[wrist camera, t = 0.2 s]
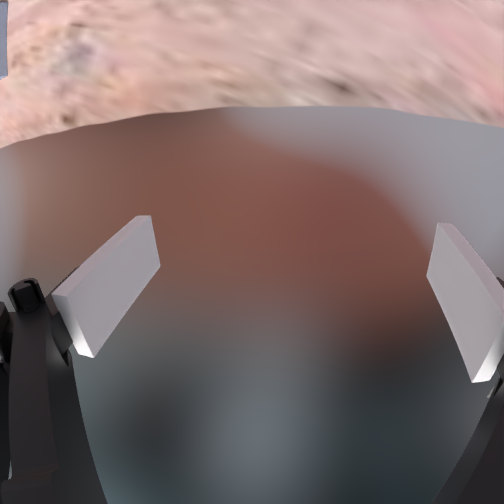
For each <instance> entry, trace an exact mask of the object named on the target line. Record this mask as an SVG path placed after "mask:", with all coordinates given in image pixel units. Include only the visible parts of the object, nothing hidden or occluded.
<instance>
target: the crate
mask: <svg viewBox="0 0 504 504" xmlns="http://www.w3.org/2000/svg"><path fill="white" fill-rule="evenodd" d="M7 11H8V3H5V2H0V80H1V79H2V78H4V77H6V76H8V74H7Z"/></svg>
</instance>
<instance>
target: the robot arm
mask: <svg viewBox="0 0 504 504" xmlns="http://www.w3.org/2000/svg"><path fill="white" fill-rule="evenodd" d="M159 268H160V261H159V256H158V252H157V247H156V242H155V236H154V231H153V226H152V221H151V216H136V217H135V218H134V219H133V220H131V221H130V222H129V223H128V224H127V225H126V226H124V227H123V228H122V229H121V230H120V231H118V232H117V233H116V234H115V235H114V236H113V237H112V238H110V239H109V240H108V241H107V242H106V243H105V244H104V245H103V246H102V247H100V248H99V249H98V250H97V251H96V252H95V253H94V254H93V255H91V256H90V258H88V259H87V260H86V261H85V262H84V263H83V264H82V265H81V266H79V267H77V268H76V269H74V270H73V271H72V272H71V273H70V274H69V275H68V277H66V278H65V279H64V280H63V281H62V282H61V283H60V284H59V285H58V286H57V287H56V288H55V289H54V290H53V291H51V293H50V294H48V296H46V298H44V296H43V294H42V291H41V289H40V286H39V283H38V281H37V280H36V279H34V278H28V279H24V280H22V281H20V282H18V283H16V284H15V285H13V287H11V288H10V289H9V291H8V296H9V298H10V300H11V302H12V305H13V307H14V309H15V311H16V312H8V310H7V308H6V306H5V304H4V303H3V302H0V355H1V357H2V359H1V362H0V504H107V501H106V498H105V495H104V492H103V489H102V487H101V483H100V480H99V477H98V474H97V471H96V468H95V464H94V461H93V457H92V454H91V450H90V447H89V442H88V439H87V435H86V430H85V426H84V422H83V417H82V413H81V408H80V404H79V398H78V393H77V387H76V382H75V376H74V369H73V364H72V363H73V362H72V356H71V353H70V351H69V349H68V348H69V347H70V345H71V344H72V343H73V344H74V345H75V348H76V350H77V351H78V353H79V354H81V355H85V356H89V357H93V358H94V357H95V356H96V354H97V353H98V351H99V350H100V348H101V347H102V345H103V344H104V343H105V341H106V340H107V338H108V337H109V335H110V334H111V333H112V331H113V330H114V328H115V327H116V326H117V324H118V323H119V321H120V320H121V319H122V317H123V316H124V314H125V313H126V312H127V310H128V309H129V307H130V306H131V305H132V304H133V302H134V301H135V299H136V298H137V297H138V295H139V294H140V293H141V291H142V290H143V289H144V287H145V286H146V285H147V283H148V282H149V281H150V279H151V278H152V277H153V275H154V274H155V273H156V271H157V270H158V269H159ZM427 278H428V280H429V282H430V284H431V286H432V288H433V291H434V292H435V295H436V297H437V299H438V301H439V303H440V305H441V308H442V310H443V312H444V314H445V316H446V319H447V321H448V323H449V325H450V328H451V330H452V332H453V335H454V337H455V340H456V342H457V344H458V347H459V349H460V352H461V354H462V357H463V360H464V362H465V365H466V367H467V370H468V373H469V376H470V378H471V381H472V383H473V382H482V381H488V380H490V378H491V377H492V375H493V373H494V372H495V370H496V368H497V369H498V371H499V374H500V378H499V379H498V381H497V382H496V384H495V386H494V387H493V389H492V390H491V392H490V393H489V395H488V396H487V398H490V399H489V401H488V403H487V406H486V408H485V410H484V412H483V415H482V417H481V419H480V421H479V423H478V425H477V427H476V429H475V431H474V433H473V435H472V437H471V439H470V441H469V443H468V444H467V446H466V448H465V450H464V452H463V454H462V455H461V457H460V459H459V460H458V462H457V464H456V466H455V467H454V469H453V471H452V472H451V474H450V476H449V477H448V479H447V480H446V482H445V483H444V485H443V486H442V488H441V489H440V491H439V492H438V494H437V496H436V497H435V498H434V500H433V501H432V503H431V504H504V281H502V280H501V279H500V278H498V277H495V276H494V275H493V273H492V272H491V271H490V269H489V268H488V267H487V265H486V264H485V263H484V262H483V260H482V259H481V258H480V256H479V255H478V254H477V253H476V251H475V250H474V249H473V248H472V247H471V246H470V244H469V243H468V242H467V241H466V239H465V238H464V237H463V236H462V235H461V233H460V232H459V231H458V230H457V229H456V228H455V227H454V225H453V224H449V223H437V229H436V234H435V239H434V245H433V249H432V255H431V258H430V263H429V267H428V272H427ZM10 460H11V466H12V478H11V479H9V480H8V477H9V468H10Z"/></svg>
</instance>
